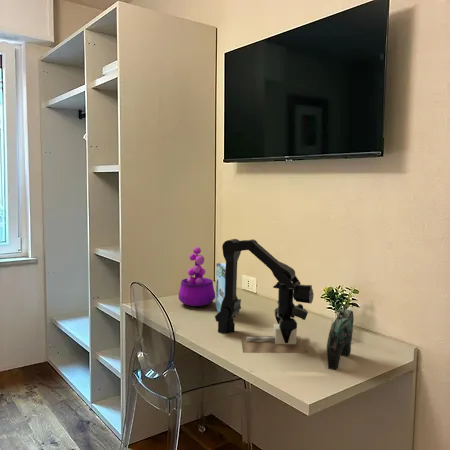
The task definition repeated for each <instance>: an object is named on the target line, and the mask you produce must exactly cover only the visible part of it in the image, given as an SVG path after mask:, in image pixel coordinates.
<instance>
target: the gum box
mask: <svg viewBox="0 0 450 450" xmlns="http://www.w3.org/2000/svg"><path fill="white" fill-rule="evenodd" d="M215 265H216V272H215V274H216V275H215V309H216V311H217V313H219V312H220V309H221V304H222V301H223V299H224V296H225V275H226V262H225V263H224V262H221V263H220V262H219V263H216V264H215ZM234 319H235V318H233V320H234Z"/></svg>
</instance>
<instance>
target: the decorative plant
mask: <svg viewBox="0 0 450 450" xmlns="http://www.w3.org/2000/svg"><path fill="white" fill-rule="evenodd" d="M192 250H193V253H191V254H189V257H188V258H189V260H190V261H191V262H192V261H194V266H193V267H191V268H188V270H187V274H188V275H189V277H187V278H183V279H181V282H180V286H179V289H178V299H179V301H180V302H181V303H182V304H184V305H186V306H190V307H202V306H206V305H209V304H212V303H213V301H215V300H216V290H215V289H214V283H213V280H212V279H211V278H207V277H204V275H205V274H206V269H205V268H204V267H202V265H203V264H204V263H205V257H204V256H203V255H200V254H201V252H202V250H201V247H199V246H195V247H194V248H193V249H192Z"/></svg>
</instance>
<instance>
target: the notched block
mask: <svg viewBox="0 0 450 450" xmlns="http://www.w3.org/2000/svg"><path fill="white" fill-rule="evenodd" d="M297 329H298V328H296V329H294V330H292V331H291V334H290V338H289V341H288V343H285V342H284V339H283V336H282V333H281V330H280V327H279V324H278V323H273V336H274V337H275V344H296V336H297V331H298V330H297Z"/></svg>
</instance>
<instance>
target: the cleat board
mask: <svg viewBox="0 0 450 450" xmlns="http://www.w3.org/2000/svg"><path fill="white" fill-rule="evenodd" d="M240 343H241V347H242V353H243V354H248V353H249V354H251V353H252V354H253V353H254V354H261V353H262V354H309V351H308V349H307V347H306V345H305V343H304V341H303V340H302V338H301V336H300V335H298V336H297V335H296V344H275V337H274V335H271V336H270V335H240Z"/></svg>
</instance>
